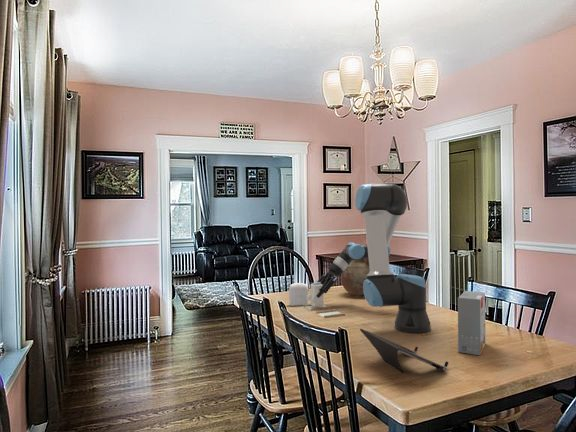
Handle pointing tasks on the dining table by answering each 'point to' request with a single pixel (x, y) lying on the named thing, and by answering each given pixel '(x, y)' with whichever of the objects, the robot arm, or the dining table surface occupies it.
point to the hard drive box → (471, 322)
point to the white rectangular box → (314, 290)
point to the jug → (355, 277)
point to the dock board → (325, 311)
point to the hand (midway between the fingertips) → (310, 300)
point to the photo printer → (298, 294)
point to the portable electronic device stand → (396, 352)
